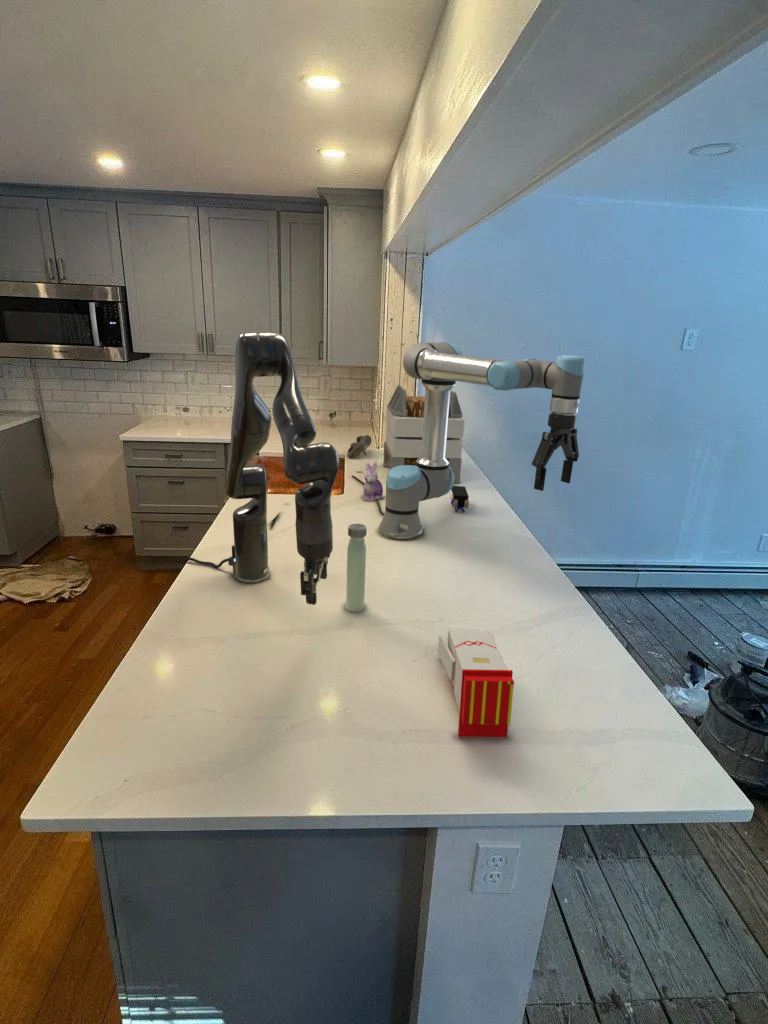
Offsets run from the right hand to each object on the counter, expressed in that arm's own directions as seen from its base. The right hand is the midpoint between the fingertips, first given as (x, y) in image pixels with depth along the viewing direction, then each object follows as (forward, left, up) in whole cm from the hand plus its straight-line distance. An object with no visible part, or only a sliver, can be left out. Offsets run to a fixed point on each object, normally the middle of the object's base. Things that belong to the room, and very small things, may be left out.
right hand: (552, 485), depth 166 cm
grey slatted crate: (-101, +46, -28) cm, 115 cm away
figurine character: (-55, +24, -28) cm, 66 cm away
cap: (-17, -59, -5) cm, 62 cm away
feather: (-87, -40, -28) cm, 100 cm away
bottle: (-17, -59, -28) cm, 67 cm away
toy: (+26, -62, -28) cm, 72 cm away
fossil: (-145, +44, -28) cm, 154 cm away
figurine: (-84, +3, -28) cm, 89 cm away
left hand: (-7, -78, -13) cm, 79 cm away
